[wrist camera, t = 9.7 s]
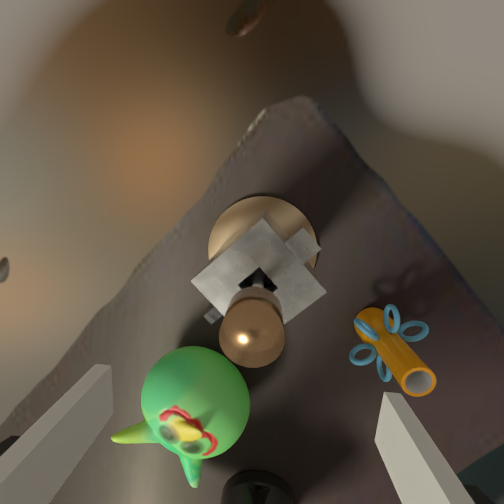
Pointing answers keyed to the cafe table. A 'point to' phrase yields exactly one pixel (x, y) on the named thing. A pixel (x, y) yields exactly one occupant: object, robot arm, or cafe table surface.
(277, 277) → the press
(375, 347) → the cylinder
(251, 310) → the plunger
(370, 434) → the cafe table surface
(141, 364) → the cafe table surface
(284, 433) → the cafe table surface
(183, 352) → the toy bird
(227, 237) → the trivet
